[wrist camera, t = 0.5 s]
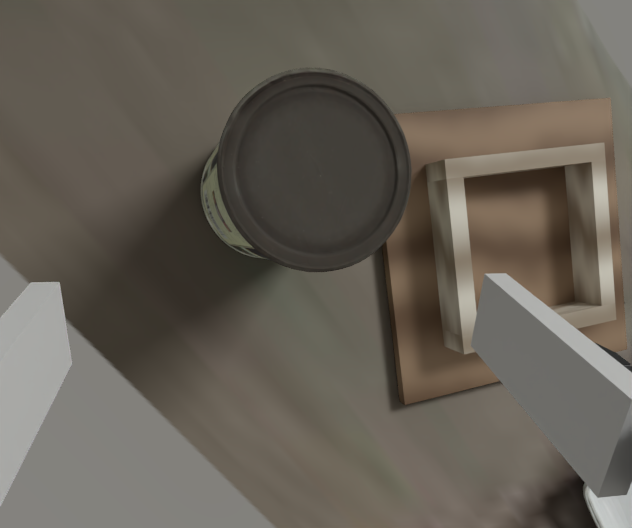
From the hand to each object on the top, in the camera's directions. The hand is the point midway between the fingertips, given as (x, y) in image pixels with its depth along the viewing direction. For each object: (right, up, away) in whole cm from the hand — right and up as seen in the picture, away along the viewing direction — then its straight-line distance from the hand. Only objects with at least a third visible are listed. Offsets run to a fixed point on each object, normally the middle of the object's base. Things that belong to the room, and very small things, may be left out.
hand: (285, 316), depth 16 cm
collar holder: (+18, +3, +29) cm, 35 cm away
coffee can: (-3, +7, +23) cm, 25 cm away
